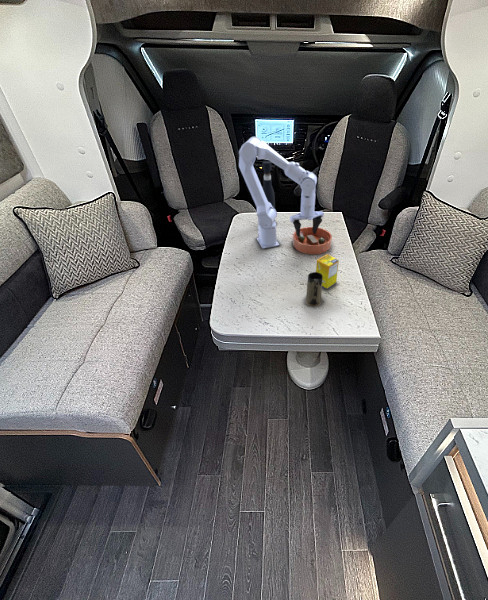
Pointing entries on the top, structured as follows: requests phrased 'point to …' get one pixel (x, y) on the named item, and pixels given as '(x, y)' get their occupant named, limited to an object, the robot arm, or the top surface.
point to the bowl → (320, 233)
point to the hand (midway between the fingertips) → (306, 234)
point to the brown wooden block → (311, 240)
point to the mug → (314, 289)
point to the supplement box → (327, 270)
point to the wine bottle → (268, 183)
